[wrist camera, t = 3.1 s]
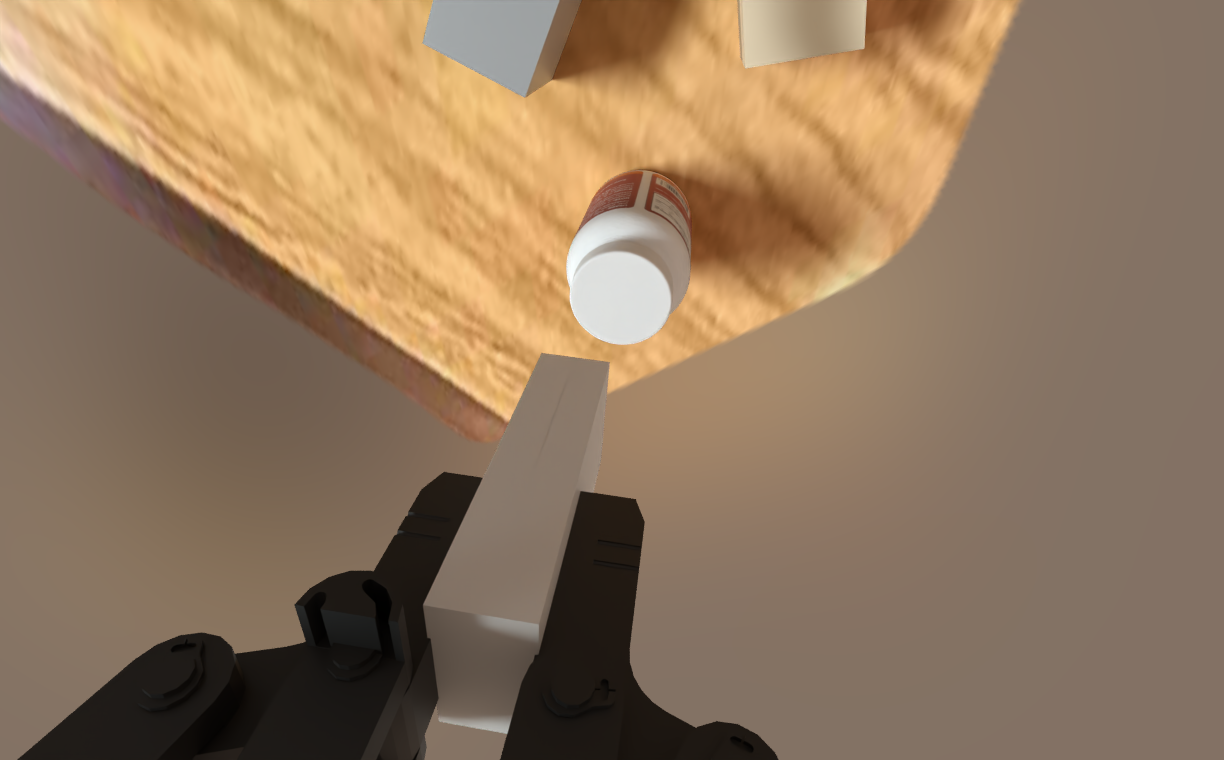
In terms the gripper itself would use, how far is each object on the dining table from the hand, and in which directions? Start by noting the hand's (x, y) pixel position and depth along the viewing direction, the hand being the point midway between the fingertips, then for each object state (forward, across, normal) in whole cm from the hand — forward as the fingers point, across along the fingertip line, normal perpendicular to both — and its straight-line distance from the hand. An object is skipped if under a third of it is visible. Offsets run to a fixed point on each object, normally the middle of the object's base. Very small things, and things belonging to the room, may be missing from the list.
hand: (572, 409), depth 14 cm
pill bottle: (+25, 0, -3) cm, 25 cm away
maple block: (+25, +6, +9) cm, 27 cm away
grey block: (+25, -7, +7) cm, 27 cm away
